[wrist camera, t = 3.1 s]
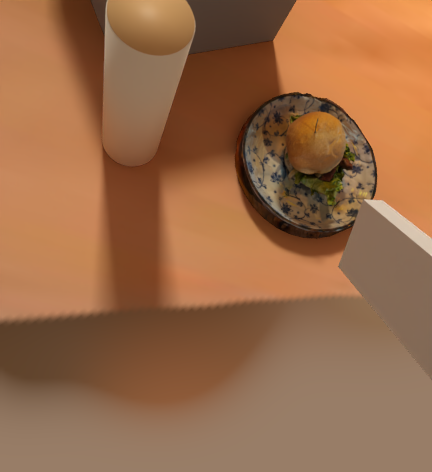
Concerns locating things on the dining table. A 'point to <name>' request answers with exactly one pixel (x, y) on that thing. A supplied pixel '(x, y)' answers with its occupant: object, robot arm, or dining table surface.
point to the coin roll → (142, 73)
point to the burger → (305, 165)
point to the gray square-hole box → (227, 21)
